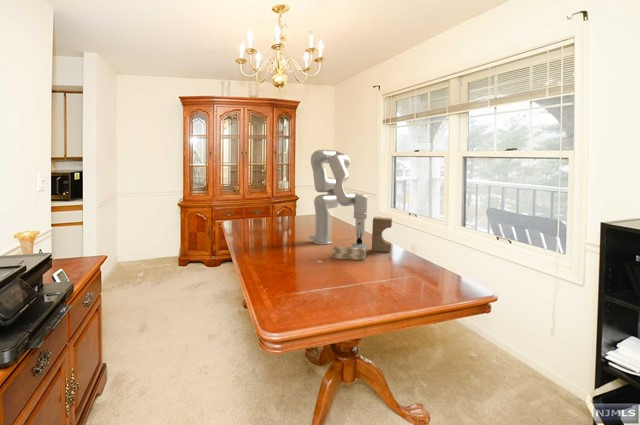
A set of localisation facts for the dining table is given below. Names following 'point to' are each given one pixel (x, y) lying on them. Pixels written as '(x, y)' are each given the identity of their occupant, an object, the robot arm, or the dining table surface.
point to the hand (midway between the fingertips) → (359, 246)
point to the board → (349, 253)
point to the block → (360, 246)
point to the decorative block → (380, 234)
